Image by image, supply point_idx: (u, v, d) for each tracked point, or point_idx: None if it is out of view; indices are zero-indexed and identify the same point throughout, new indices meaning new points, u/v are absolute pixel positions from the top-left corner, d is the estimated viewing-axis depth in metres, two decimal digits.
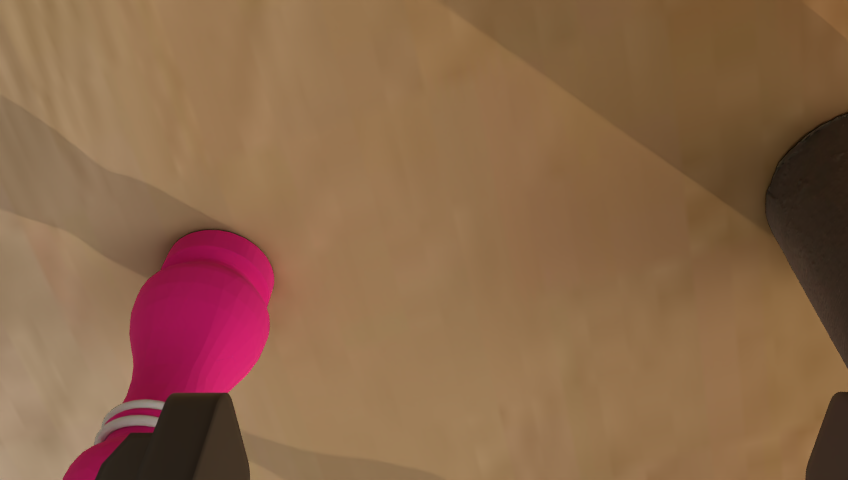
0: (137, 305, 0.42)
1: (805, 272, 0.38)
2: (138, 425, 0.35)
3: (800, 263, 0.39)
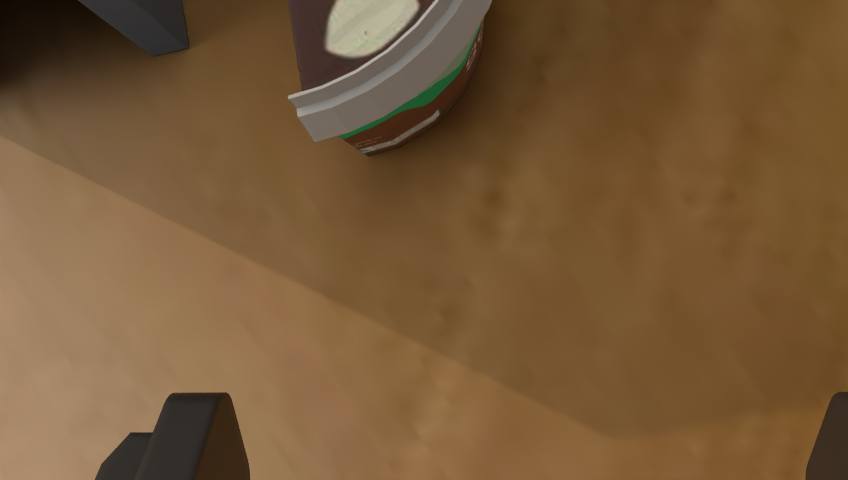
0: None
1: None
2: None
3: None
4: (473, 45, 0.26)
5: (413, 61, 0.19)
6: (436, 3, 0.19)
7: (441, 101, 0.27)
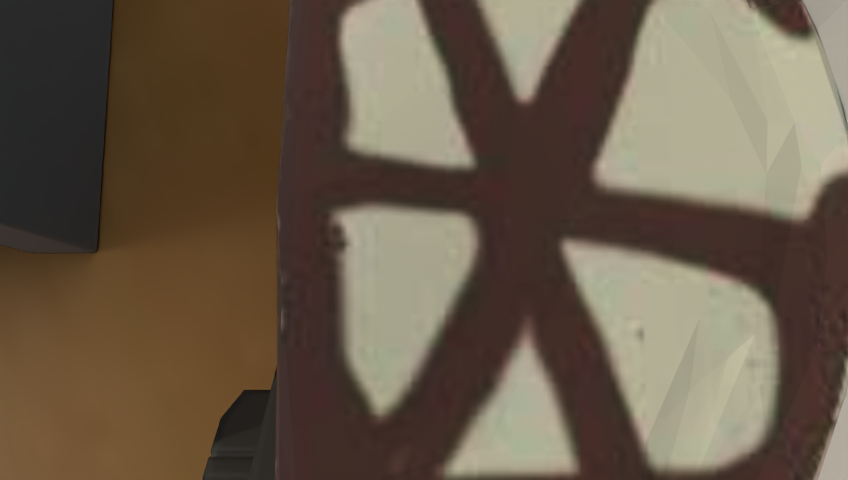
0: None
1: None
2: None
3: None
4: None
5: None
6: None
7: None
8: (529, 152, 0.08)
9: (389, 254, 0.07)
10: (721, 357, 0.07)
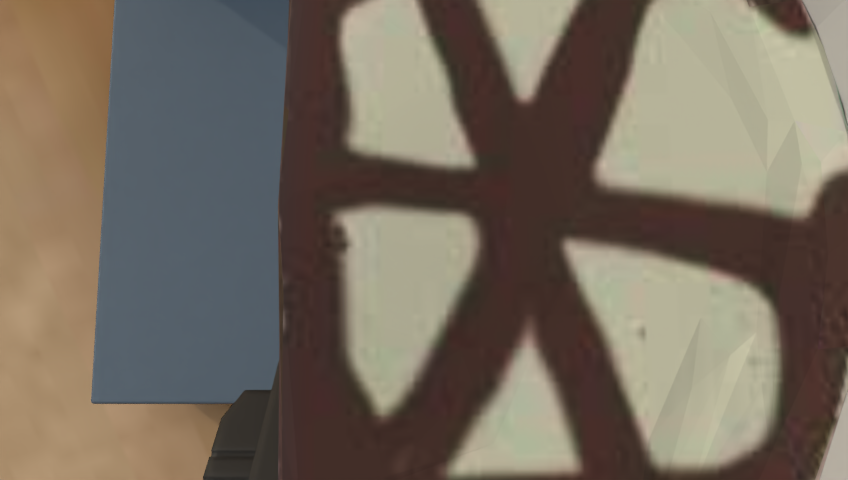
0: None
1: None
2: None
3: None
4: None
5: None
6: None
7: None
8: (529, 151, 0.08)
9: (390, 255, 0.07)
10: (724, 354, 0.07)
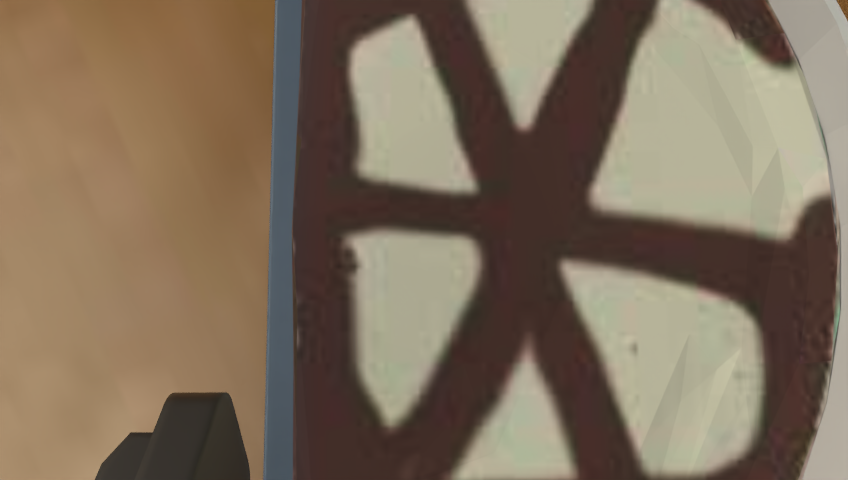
0: None
1: None
2: None
3: None
4: None
5: None
6: None
7: None
8: (528, 177, 0.08)
9: (398, 276, 0.08)
10: (711, 369, 0.08)
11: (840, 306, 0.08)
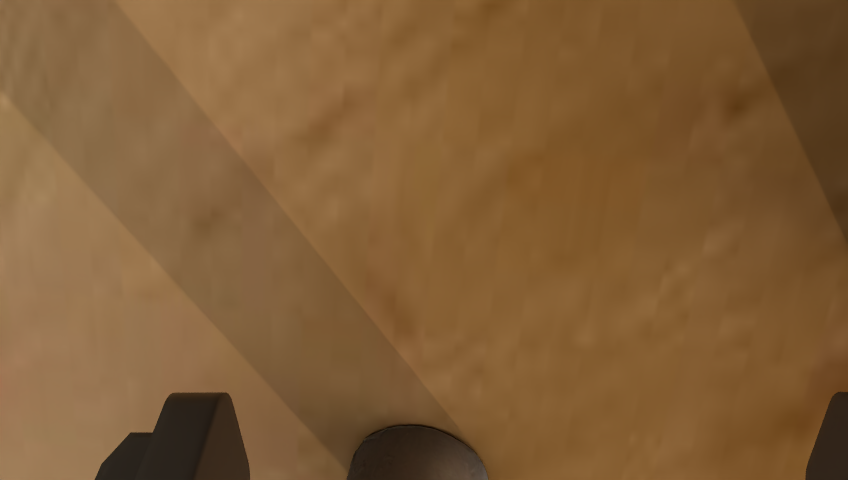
0: None
1: None
2: None
3: None
4: None
5: None
6: None
7: None
8: None
9: None
10: None
11: None
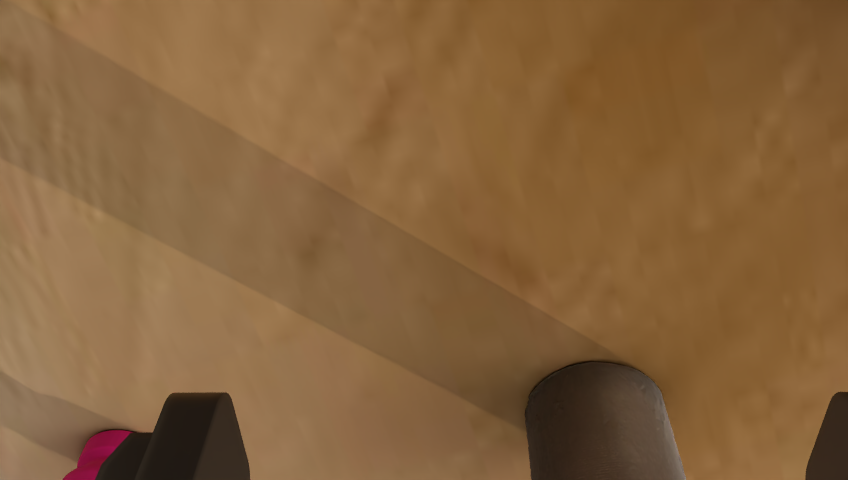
0: None
1: None
2: None
3: None
4: None
5: None
6: None
7: None
8: None
9: None
10: None
11: None
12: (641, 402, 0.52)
